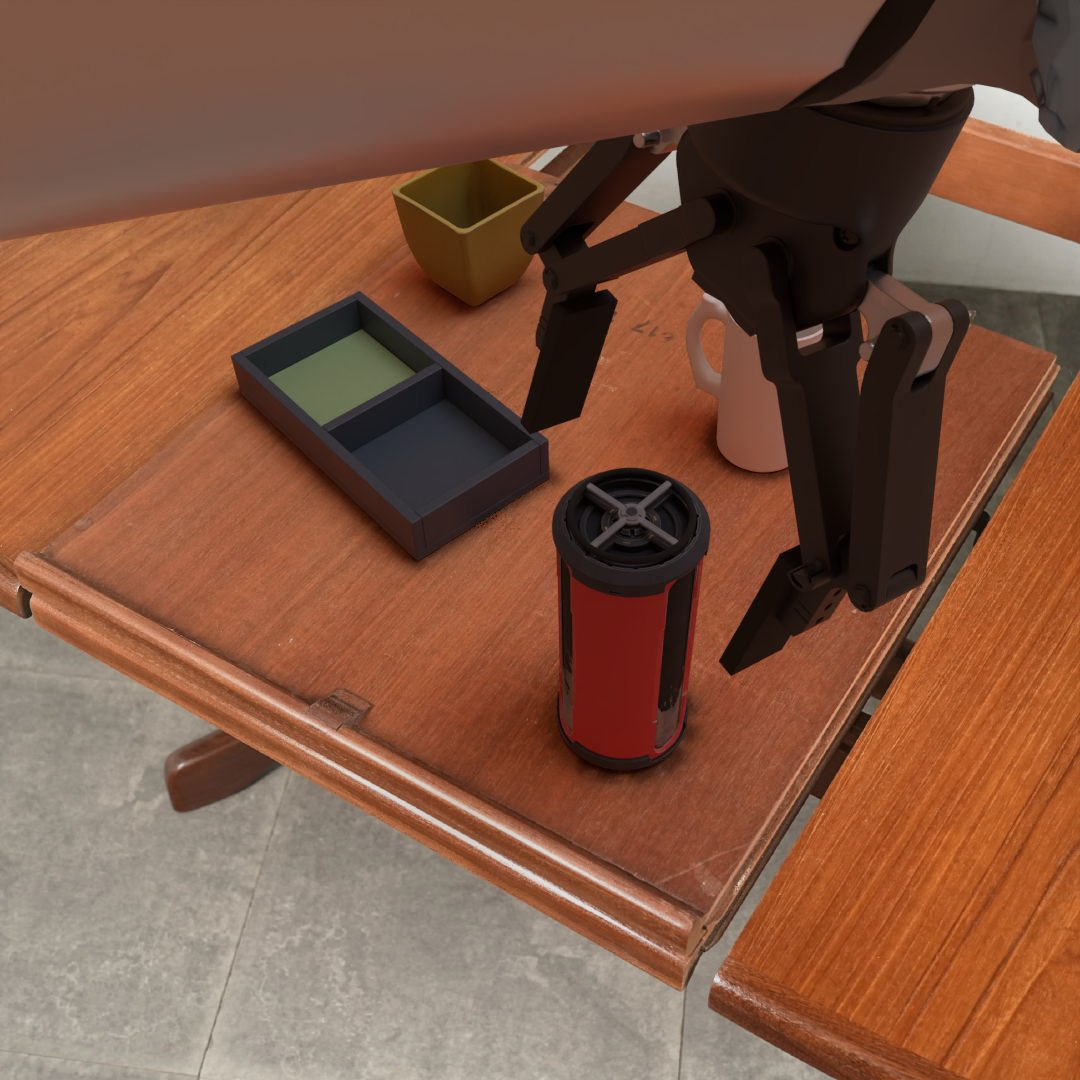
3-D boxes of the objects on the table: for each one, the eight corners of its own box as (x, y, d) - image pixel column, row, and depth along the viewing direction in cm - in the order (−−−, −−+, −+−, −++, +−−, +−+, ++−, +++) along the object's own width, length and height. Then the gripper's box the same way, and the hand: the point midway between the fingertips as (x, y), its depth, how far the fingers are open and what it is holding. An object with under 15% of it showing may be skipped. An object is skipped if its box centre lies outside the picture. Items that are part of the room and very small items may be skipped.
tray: (417, 562, 80) (411, 523, 77) (240, 394, 91) (230, 355, 88) (549, 478, 84) (548, 439, 82) (366, 329, 96) (359, 290, 93)
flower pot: (400, 283, 100) (388, 188, 93) (479, 239, 104) (472, 144, 97) (471, 330, 95) (462, 234, 89) (550, 282, 99) (548, 186, 93)
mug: (824, 435, 87) (852, 300, 78) (778, 490, 83) (802, 355, 74) (705, 381, 91) (718, 247, 82) (656, 431, 87) (664, 297, 78)
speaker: (627, 799, 68) (640, 600, 54) (529, 720, 71) (518, 514, 58) (713, 714, 71) (745, 508, 58) (616, 643, 75) (624, 433, 61)
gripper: (1302, 283, 29) (917, 731, 45) (680, -170, 40) (546, 318, 56) (1130, 360, 26) (776, 818, 41) (496, -163, 37) (408, 357, 52)
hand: (643, 531), depth 49 cm, fingers open, 13 cm apart
